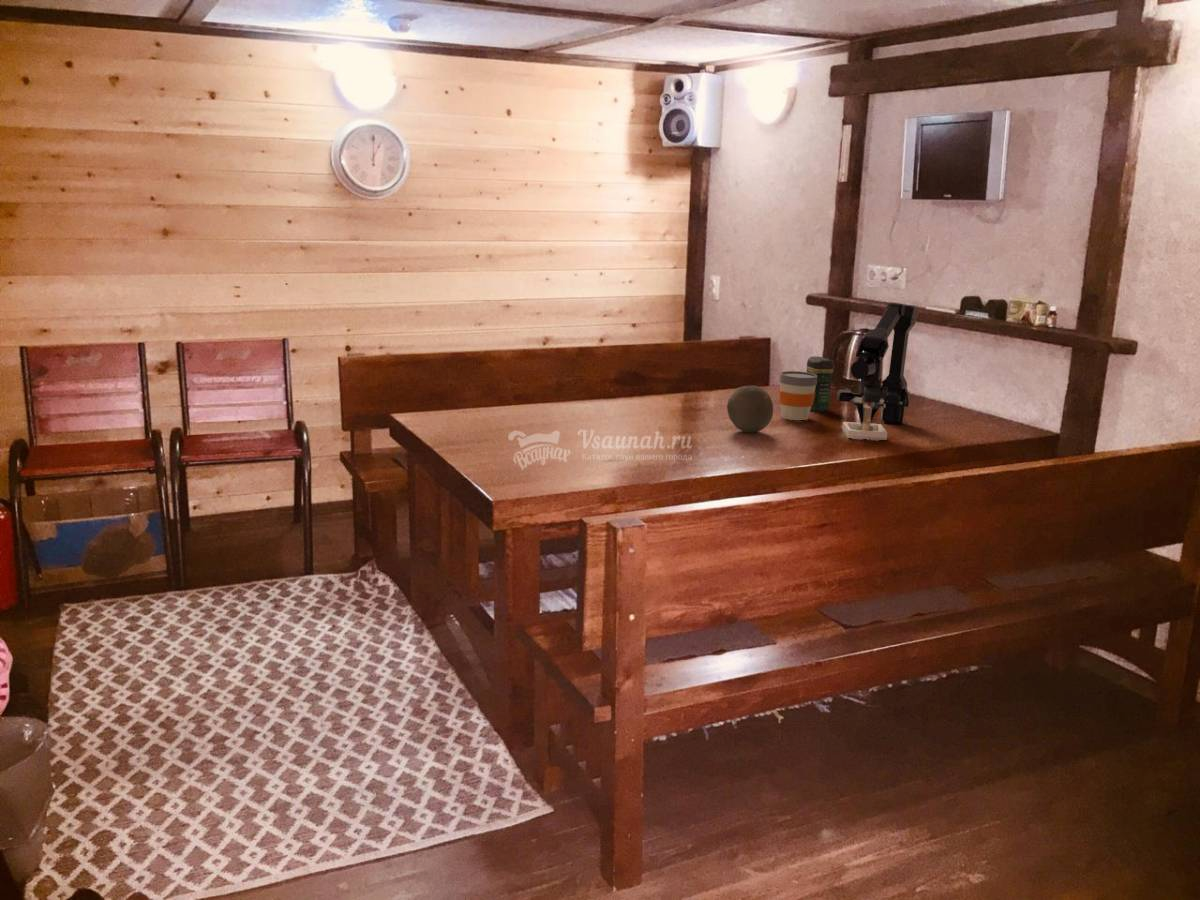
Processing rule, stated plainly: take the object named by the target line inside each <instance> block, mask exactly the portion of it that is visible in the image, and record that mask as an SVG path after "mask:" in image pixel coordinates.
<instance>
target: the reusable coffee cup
mask: <svg viewBox="0 0 1200 900" xmlns="http://www.w3.org/2000/svg"><path fill="white" fill-rule="evenodd" d="M778 380H779V384H780V388H779V391H778V392H779V394H778V395H779V396H778V397H779V403H780V411H781V413H780V415H781V419H783V418H785V419H784V420H786V419H790V420H789V421H791V420H806V421H808V420H809V417H810V413H811V410H810V409H811V406H812V405H813V401H814V397H815V387H816V385H817V375H815V374H812V373H808V372H807V371H797V370H796V371H795V370H793V371H792V370H788V371H787V370H785V371H781V372H780V375H779V379H778ZM807 419H808V420H807Z"/></svg>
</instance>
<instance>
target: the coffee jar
mask: <svg viewBox="0 0 1200 900" xmlns="http://www.w3.org/2000/svg"><path fill="white" fill-rule="evenodd" d="M806 372H808V373H812V374H815V375H817V385H816V387H815V397H814V401H813V405H812V406H811V409H810V411H818V412H826V411H828V410H830V402H831V387H832V386H831V385H832V377H833V372H834V361H832V360H831V359H829V358H826V357H823V356H810V357H808V358H807V362H806Z"/></svg>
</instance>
